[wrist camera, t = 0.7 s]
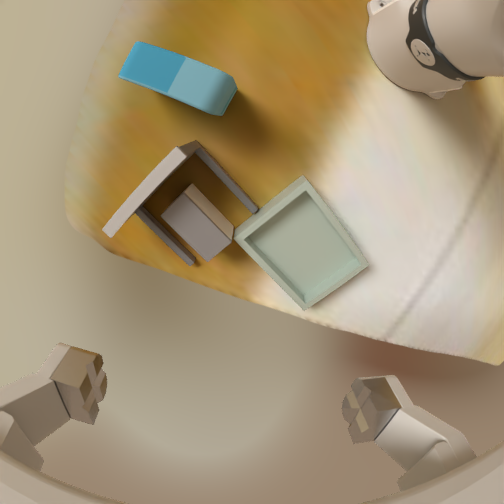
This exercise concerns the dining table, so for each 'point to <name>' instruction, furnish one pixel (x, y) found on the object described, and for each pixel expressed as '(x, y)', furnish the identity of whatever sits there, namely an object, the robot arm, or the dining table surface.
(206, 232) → the tall grey rectangular block
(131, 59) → the data package
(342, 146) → the dining table surface
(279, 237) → the tray
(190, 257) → the bay
